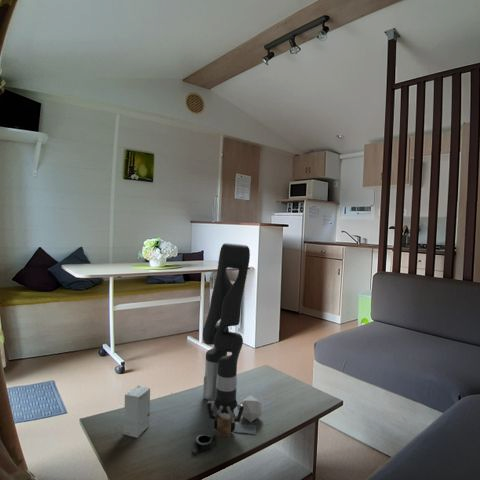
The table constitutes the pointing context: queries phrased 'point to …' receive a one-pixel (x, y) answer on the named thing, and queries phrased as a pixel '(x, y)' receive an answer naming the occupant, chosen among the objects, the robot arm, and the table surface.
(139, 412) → the skincare box
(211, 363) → the robot arm
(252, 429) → the pad
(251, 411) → the die
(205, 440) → the black round bracket
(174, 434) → the table surface
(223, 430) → the brown rectangular block
